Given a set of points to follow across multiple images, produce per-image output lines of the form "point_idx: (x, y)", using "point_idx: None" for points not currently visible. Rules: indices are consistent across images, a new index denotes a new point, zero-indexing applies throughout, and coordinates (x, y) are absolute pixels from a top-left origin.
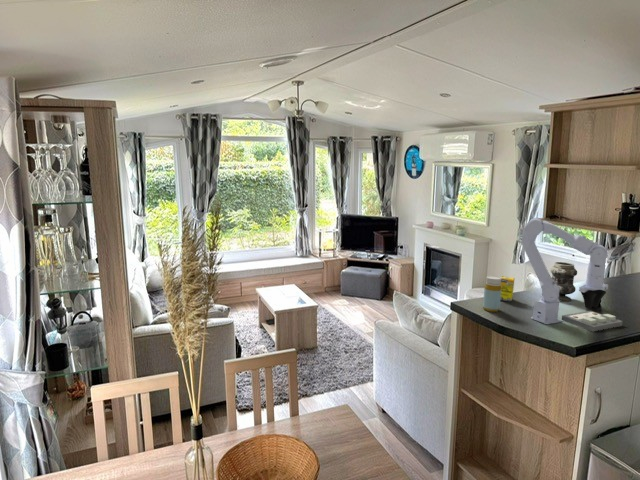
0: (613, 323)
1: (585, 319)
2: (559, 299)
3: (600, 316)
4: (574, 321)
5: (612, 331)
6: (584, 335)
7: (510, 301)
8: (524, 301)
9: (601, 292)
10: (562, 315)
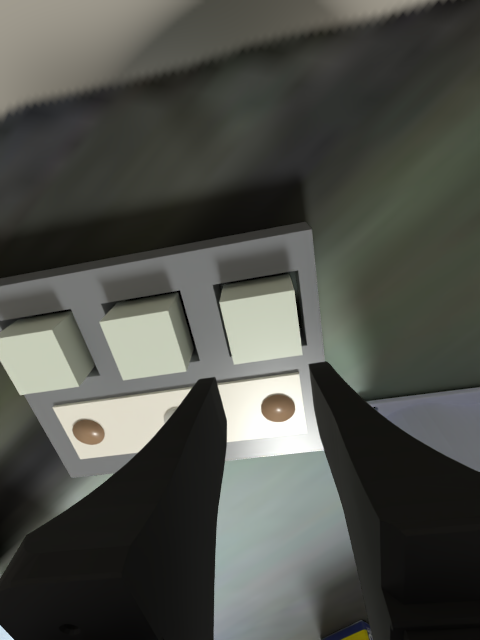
0: (69, 272)
1: (298, 331)
2: None
3: (120, 360)
4: None
5: (144, 197)
6: (450, 160)
7: (365, 624)
8: (287, 617)
9: (142, 575)
10: None
